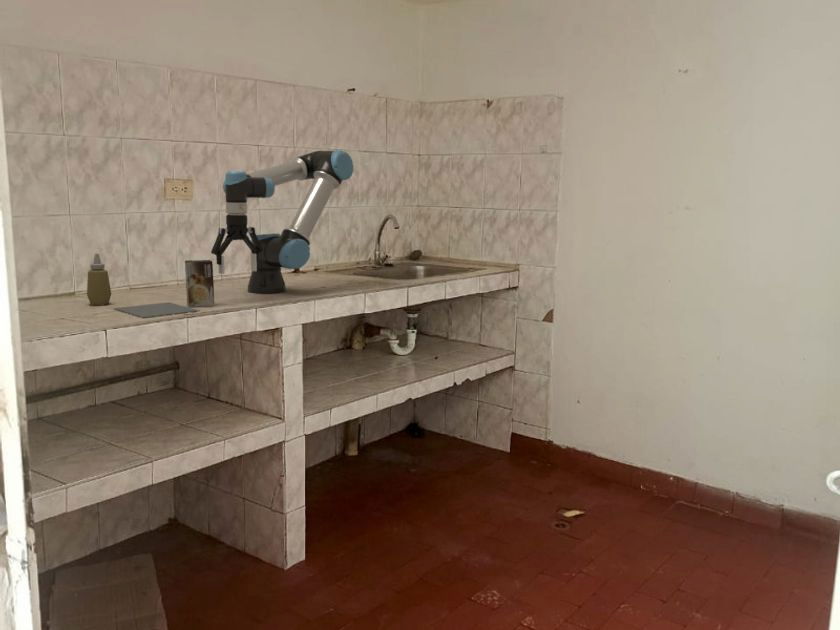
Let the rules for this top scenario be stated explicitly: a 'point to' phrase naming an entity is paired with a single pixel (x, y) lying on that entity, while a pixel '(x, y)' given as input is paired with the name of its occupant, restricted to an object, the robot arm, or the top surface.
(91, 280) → the squeeze bottle
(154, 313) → the mat
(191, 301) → the coffee box
